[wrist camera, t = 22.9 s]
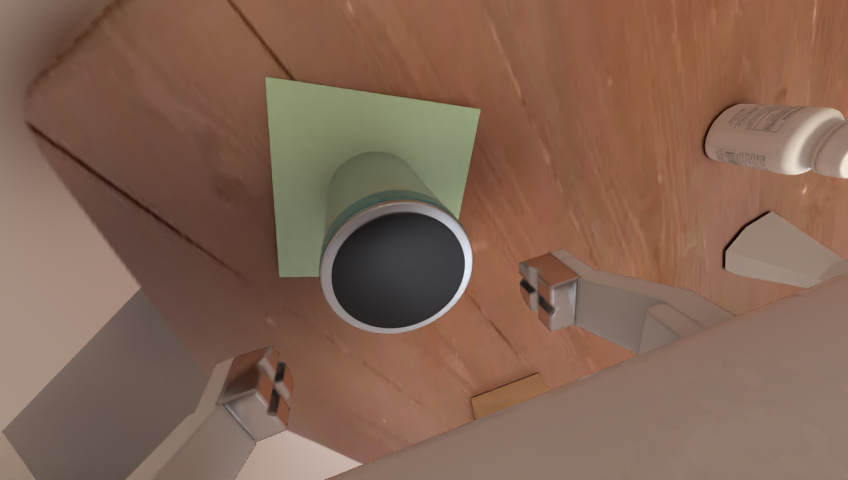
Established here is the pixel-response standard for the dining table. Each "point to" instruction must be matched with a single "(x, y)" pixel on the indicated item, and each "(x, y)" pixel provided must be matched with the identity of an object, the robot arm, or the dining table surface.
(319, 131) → the mat
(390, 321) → the tumbler
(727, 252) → the flask
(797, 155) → the pill bottle
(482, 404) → the plate
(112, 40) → the dining table surface
